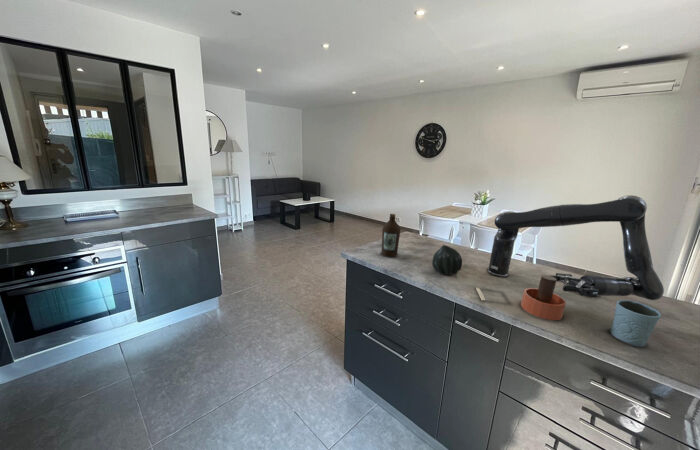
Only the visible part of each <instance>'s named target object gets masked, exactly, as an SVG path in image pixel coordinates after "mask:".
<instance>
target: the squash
mask: <svg viewBox="0 0 700 450" xmlns="http://www.w3.org/2000/svg"><path fill="white" fill-rule="evenodd" d="M431 262H432V264H431V265H432V267H433V269H434V270H435V271H437V272H439V274H441V275H443V274H445V275H446V276H449V275H450V276H451V275H452V274H457V273H458V272H460V271H461V269H462V266H463V258H462V256H461V254H460V252H458V250H457V249H455V248H453V247H451V246H448V245H445V244H443V245H441V246H440V247H439V249H437V251H435V253H434V254H433V257H432V260H431Z"/></svg>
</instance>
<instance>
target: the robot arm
mask: <svg viewBox="0 0 700 450" xmlns="http://www.w3.org/2000/svg"><path fill="white" fill-rule="evenodd" d="M647 209H648V205H647V202H646V201H645V200H644V199H643V198H641V197H640V196H637V195H634V194H633V195H632V194H628V195H623V196H621V197H618V198H617V199H614V200H610V201H609V200H608V201H603V202H597V203H584V204H583V203H569V204H568V203H567V204H558V205H551V206H545V207H540V208H536V209H532V210H528V211H521V212H519V211H518V212H515V211H513V210H512V211H511V210H509V211H504V212H501V213H499V214H498V215H497V216H496V217H495V218H494V226H495V227H496V228H497V232H496V233H495V235H494V237H493V242H492V248H491V252H490V259H489V263H488V264H489V265H488V267H487V273H488V274H489V275H492V276H495V277H500V278H505V277H509V270H510V265H511V261H512V256H513V251H514V248H515V247H514V246H515V242H516V240H517V237H518V234H519V230H520V229H525V228H553V227H554V228H555V227H567V226H577V225H584V224H591V223H607V222H608V223H609V222H611V223H612V222H615V223H619V224H620V227H621V233H622V247H623V249H622V250H623V257H624V263H625V268H626V271H627V272H628V273H629V274H631V275H633V276H625V277H616V276H615V277H613V276H606V275H593V274H584V275H582V276H581V277H578V276H577V277H576V276H573V274H571V273H562V272H561V273H560V272H556V273H555V275H551V274H549V275H548V276H552V277H554V278H556V279H557V281H556V282H557V283H558V282H559V283H562V284H563V287H562V291H563V292H568V293H576V294H579V296H581V297H598V296H597V295H599V296H601V297H602V296H603V297H612V296H613V297H627V296H630V295H632V296H635V297H639V298H642V299H646V300H649V301H657V300H660V299H661V298H663V295H664V294H665V287H664V284H663V282H662V280H661V279H660V278H659V275H658V273H657V272H656V270H655V268H654V264H653V259H652V258H653V257H652V253H651V250H650V245H649V241H648V237H647V232H646V212H647Z"/></svg>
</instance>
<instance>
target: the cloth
mask: <svg viewBox="0 0 700 450" xmlns="http://www.w3.org/2000/svg"><path fill="white" fill-rule="evenodd" d="M475 290H476V292H477V294H478V296H479V298H480V299H481V301H483V302H487V299H486V298H485V296H484V294H483V292H482V290H481V288H479V287H476V288H475Z"/></svg>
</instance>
